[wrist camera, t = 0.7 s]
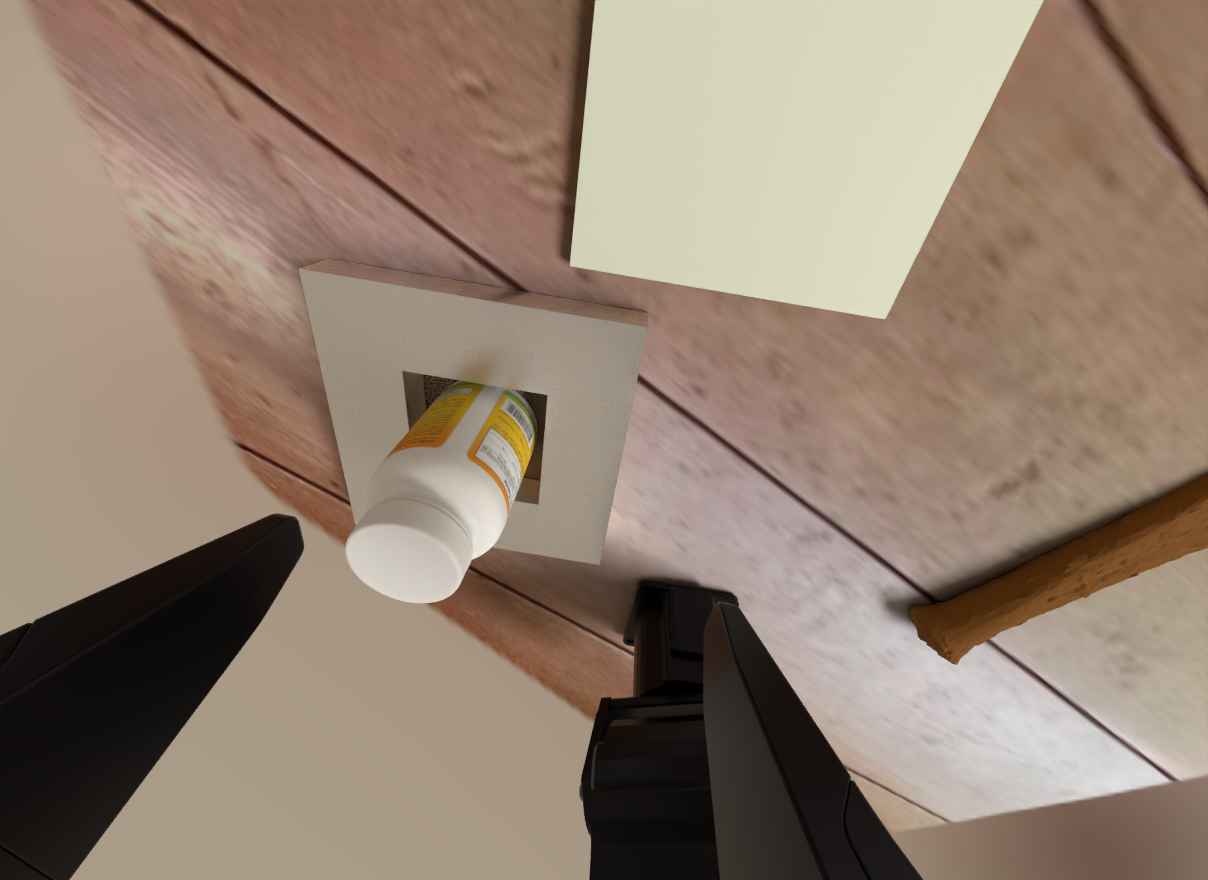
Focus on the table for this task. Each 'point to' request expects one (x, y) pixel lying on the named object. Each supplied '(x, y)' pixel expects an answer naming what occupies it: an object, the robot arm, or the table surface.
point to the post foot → (485, 356)
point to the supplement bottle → (443, 493)
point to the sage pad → (782, 139)
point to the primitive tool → (1069, 572)
